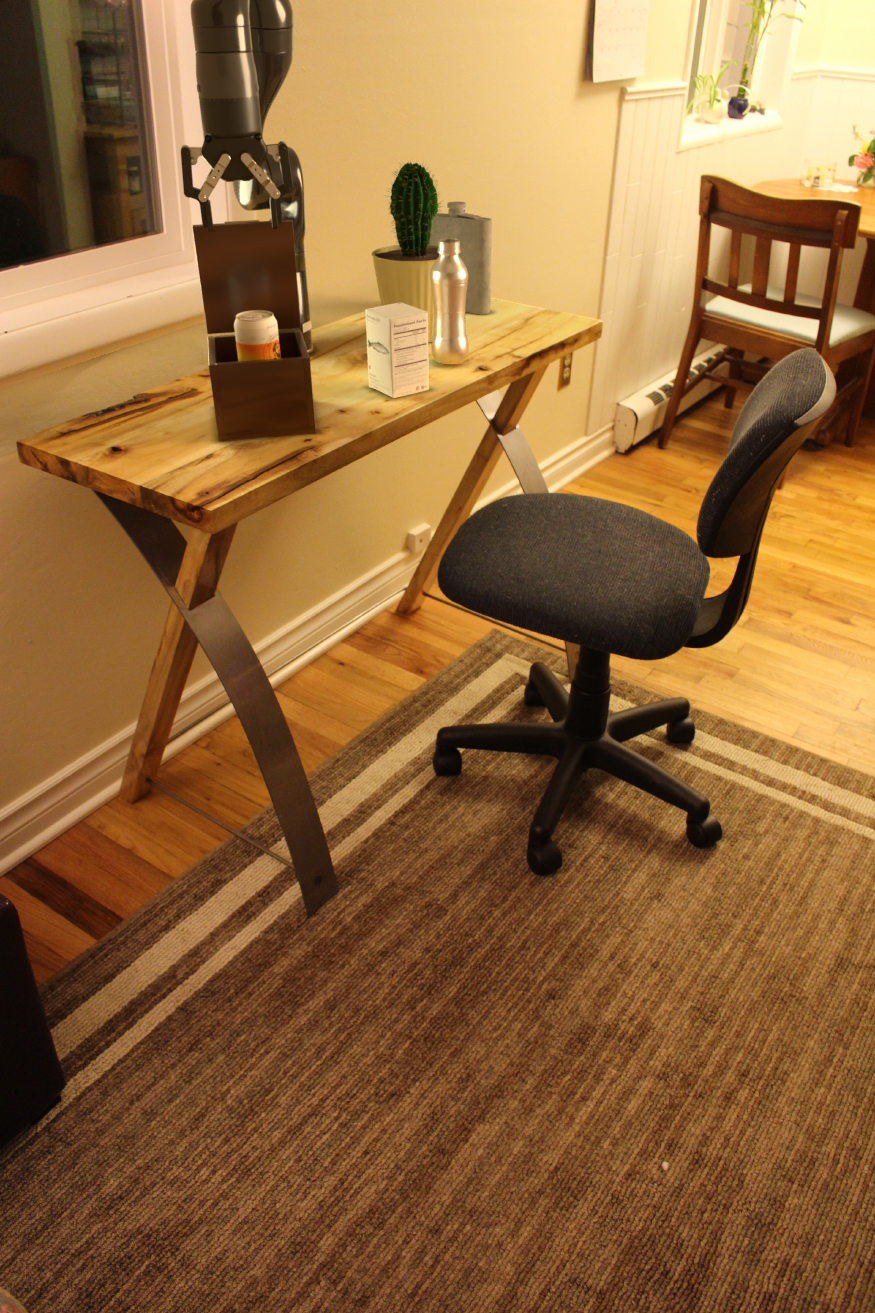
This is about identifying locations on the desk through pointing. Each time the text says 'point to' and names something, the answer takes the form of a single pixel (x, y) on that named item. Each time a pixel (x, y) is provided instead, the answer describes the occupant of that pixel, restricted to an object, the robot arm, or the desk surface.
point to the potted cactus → (410, 243)
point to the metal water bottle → (449, 304)
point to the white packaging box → (397, 349)
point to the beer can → (256, 335)
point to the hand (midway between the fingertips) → (243, 229)
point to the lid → (247, 272)
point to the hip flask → (469, 251)
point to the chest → (261, 390)
